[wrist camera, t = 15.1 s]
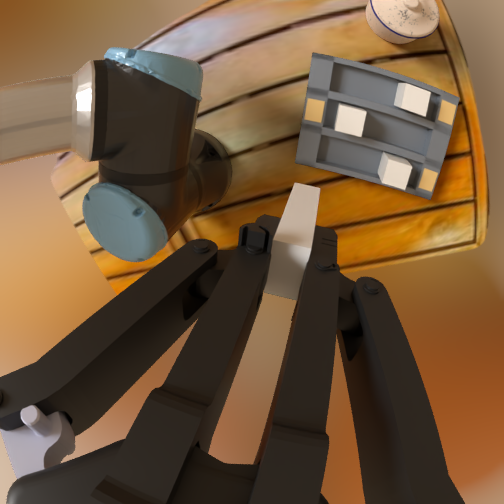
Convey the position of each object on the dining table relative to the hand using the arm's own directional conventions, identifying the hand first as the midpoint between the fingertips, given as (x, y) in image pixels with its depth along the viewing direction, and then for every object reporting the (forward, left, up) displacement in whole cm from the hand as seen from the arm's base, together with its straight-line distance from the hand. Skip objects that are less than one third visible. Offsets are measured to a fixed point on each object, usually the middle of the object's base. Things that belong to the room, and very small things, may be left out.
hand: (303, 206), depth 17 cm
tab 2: (+12, -3, -29) cm, 31 cm away
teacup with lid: (+7, +22, -31) cm, 38 cm away
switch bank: (+8, +3, -30) cm, 32 cm away
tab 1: (+4, +3, -29) cm, 29 cm away
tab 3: (+12, +8, -29) cm, 32 cm away
